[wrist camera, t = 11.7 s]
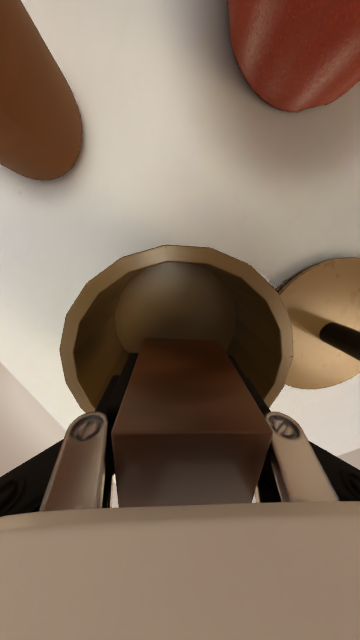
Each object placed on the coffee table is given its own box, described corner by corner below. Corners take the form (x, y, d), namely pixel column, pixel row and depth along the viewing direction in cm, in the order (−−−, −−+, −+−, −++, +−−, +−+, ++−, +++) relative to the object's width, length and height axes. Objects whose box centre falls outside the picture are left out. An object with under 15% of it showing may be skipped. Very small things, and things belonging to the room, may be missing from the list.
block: (218, 339, 10) (275, 432, 5) (210, 398, 12) (246, 523, 6) (144, 337, 10) (109, 433, 4) (144, 398, 12) (119, 528, 6)
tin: (253, 257, 17) (325, 254, 9) (231, 379, 22) (265, 448, 14) (103, 248, 16) (36, 236, 8) (114, 377, 21) (78, 450, 13)
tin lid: (415, 262, 18) (545, 262, 12) (357, 384, 23) (426, 430, 17) (272, 253, 17) (331, 248, 11) (245, 382, 22) (273, 430, 16)
